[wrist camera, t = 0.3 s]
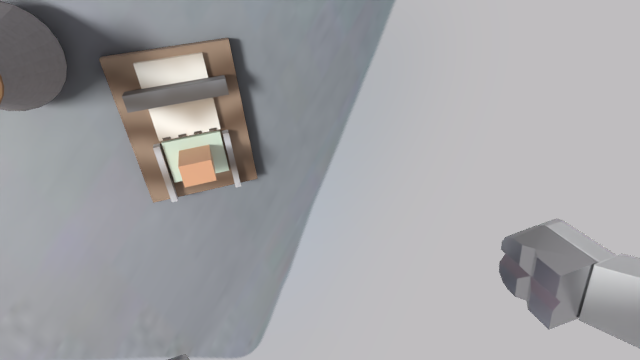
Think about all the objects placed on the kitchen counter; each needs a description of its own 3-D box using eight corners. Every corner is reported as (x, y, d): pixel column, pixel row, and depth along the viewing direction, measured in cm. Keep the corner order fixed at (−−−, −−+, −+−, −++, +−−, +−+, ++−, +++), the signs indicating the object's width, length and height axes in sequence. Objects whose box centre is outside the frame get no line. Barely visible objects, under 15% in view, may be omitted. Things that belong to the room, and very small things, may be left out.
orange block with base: (161, 141, 51) (159, 159, 46) (219, 130, 52) (222, 145, 48) (174, 180, 54) (173, 200, 49) (228, 168, 55) (232, 186, 51)
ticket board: (101, 56, 46) (94, 63, 42) (227, 37, 49) (230, 42, 45) (154, 197, 56) (151, 212, 52) (255, 174, 59) (260, 186, 55)
